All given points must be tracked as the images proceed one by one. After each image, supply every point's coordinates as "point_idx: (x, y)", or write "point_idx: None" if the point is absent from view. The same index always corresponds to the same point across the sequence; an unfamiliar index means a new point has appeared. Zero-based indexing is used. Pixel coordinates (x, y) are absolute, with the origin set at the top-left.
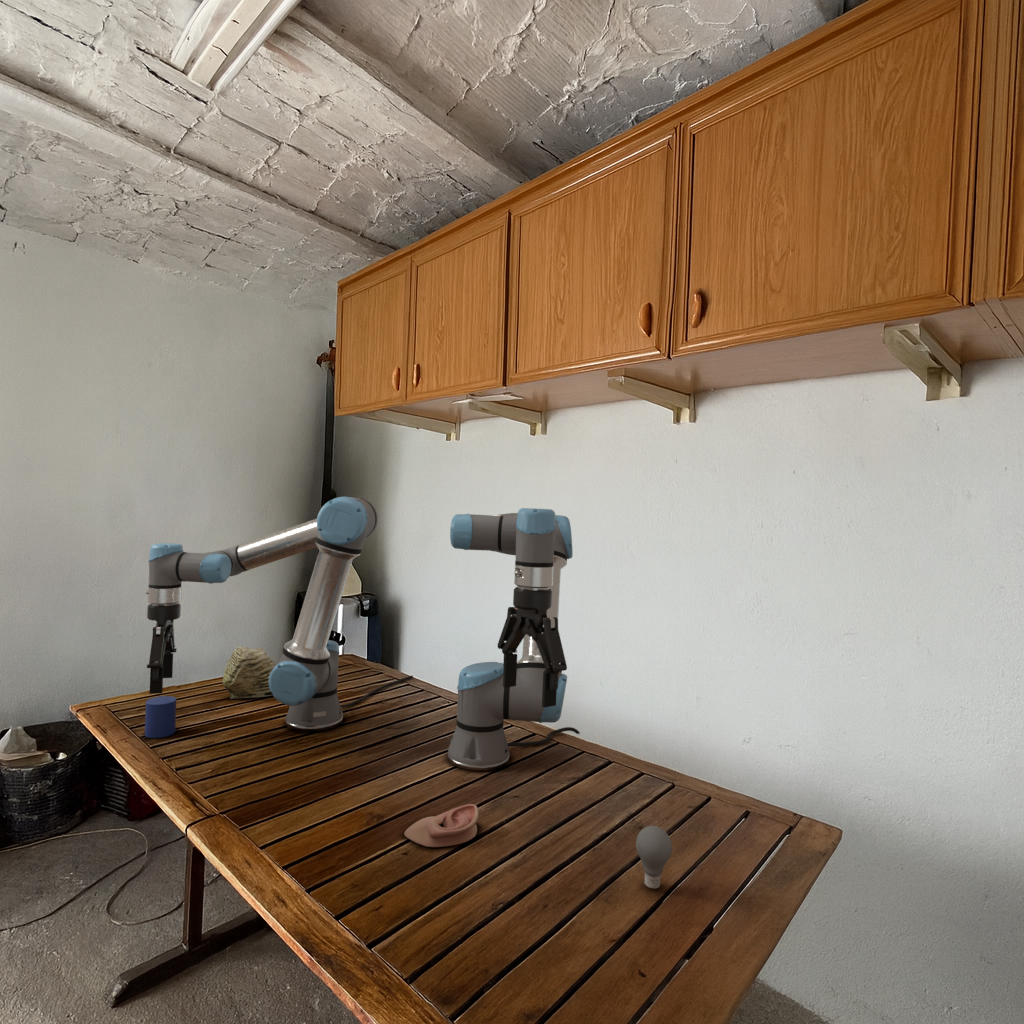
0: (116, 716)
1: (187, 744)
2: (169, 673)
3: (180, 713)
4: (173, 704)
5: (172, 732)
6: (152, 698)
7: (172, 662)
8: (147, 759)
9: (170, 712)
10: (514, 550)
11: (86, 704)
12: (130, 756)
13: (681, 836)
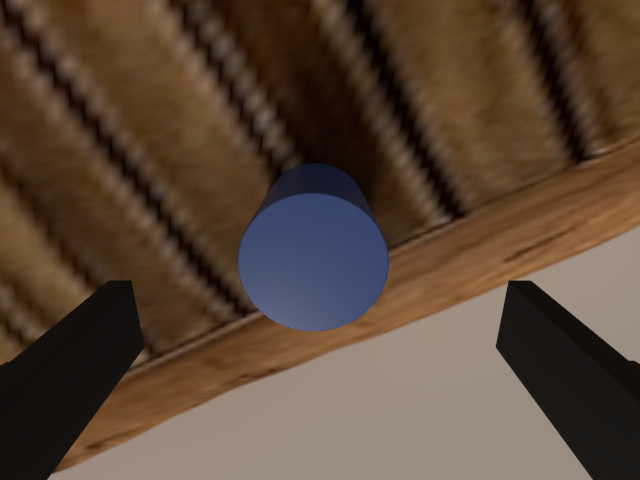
0: None
1: (469, 92)
2: (116, 315)
3: (87, 178)
4: (347, 196)
5: (339, 170)
6: (272, 312)
7: (39, 359)
8: (566, 209)
9: (360, 198)
10: None
11: None
12: (515, 264)
13: None
